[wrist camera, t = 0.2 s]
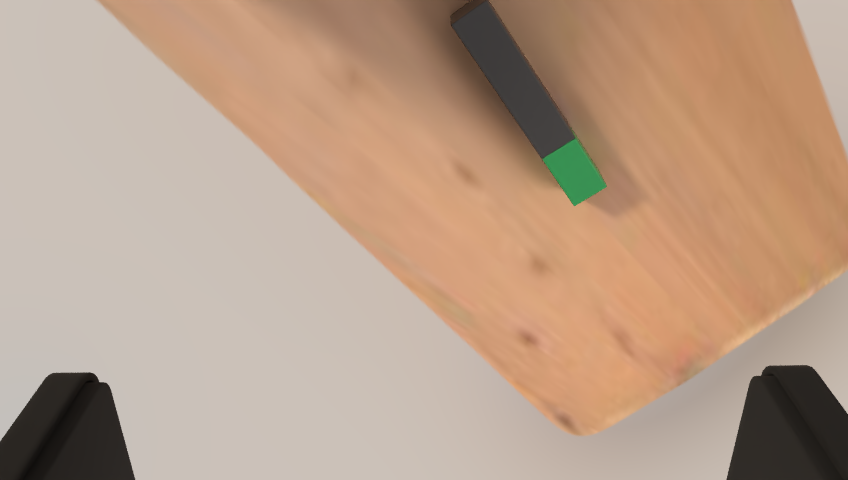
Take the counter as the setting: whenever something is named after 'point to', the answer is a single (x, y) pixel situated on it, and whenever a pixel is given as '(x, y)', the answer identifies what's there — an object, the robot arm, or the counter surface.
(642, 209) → the counter surface
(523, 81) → the marker
